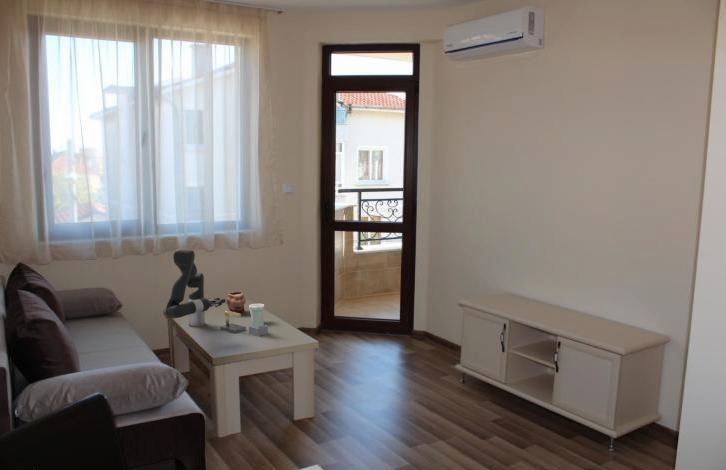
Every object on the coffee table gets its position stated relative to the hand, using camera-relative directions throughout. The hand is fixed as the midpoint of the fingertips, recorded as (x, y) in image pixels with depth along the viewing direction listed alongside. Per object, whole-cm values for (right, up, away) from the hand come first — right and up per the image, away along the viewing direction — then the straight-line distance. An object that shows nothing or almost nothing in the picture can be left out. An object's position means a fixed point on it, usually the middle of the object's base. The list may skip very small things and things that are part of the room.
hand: (222, 300), depth 363 cm
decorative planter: (-3, -15, +56) cm, 58 cm away
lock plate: (+3, -20, +16) cm, 26 cm away
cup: (+15, -18, +33) cm, 40 cm away
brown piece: (+3, -18, +15) cm, 24 cm away
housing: (+20, -21, +8) cm, 30 cm away
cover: (+20, -17, +8) cm, 28 cm away
